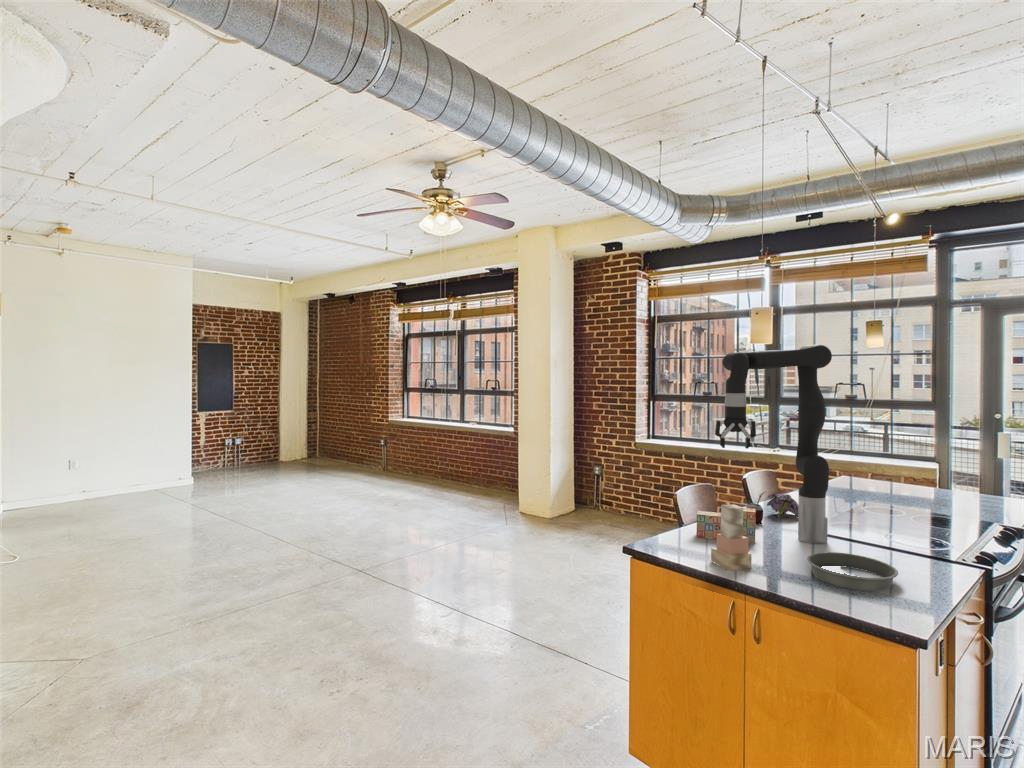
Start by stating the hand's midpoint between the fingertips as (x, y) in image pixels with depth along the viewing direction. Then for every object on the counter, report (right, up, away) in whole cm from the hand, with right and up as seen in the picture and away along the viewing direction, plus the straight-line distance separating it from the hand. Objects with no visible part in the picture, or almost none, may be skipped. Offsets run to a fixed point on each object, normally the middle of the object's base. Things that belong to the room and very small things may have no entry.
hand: (735, 447), depth 212 cm
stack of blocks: (-1, -36, +7) cm, 37 cm away
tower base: (-11, -37, -24) cm, 45 cm away
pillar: (-11, -27, -24) cm, 38 cm away
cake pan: (+22, -37, -35) cm, 56 cm away
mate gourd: (+20, -36, +28) cm, 49 cm away
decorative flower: (+38, -36, +40) cm, 66 cm away
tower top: (-10, -32, -24) cm, 41 cm away
